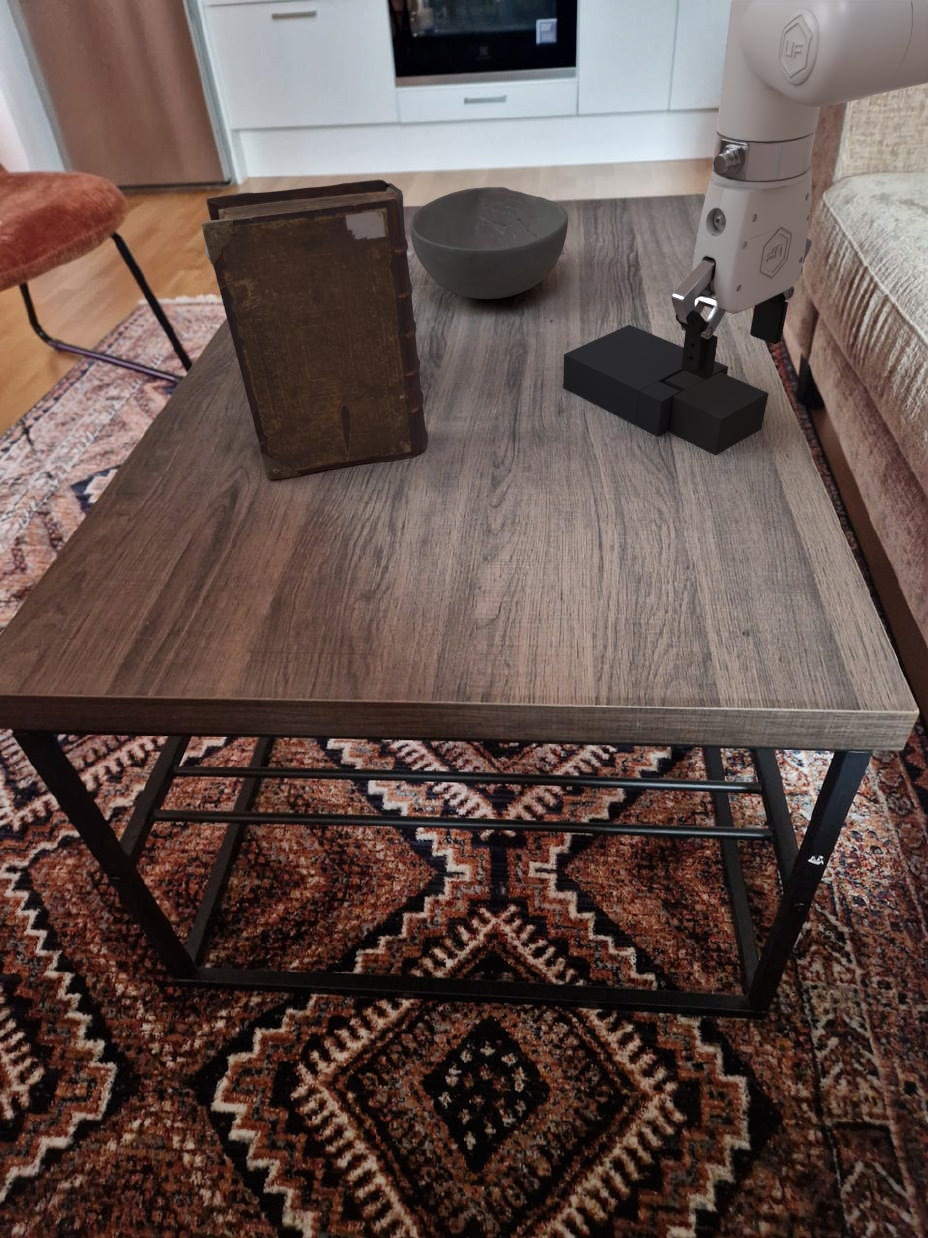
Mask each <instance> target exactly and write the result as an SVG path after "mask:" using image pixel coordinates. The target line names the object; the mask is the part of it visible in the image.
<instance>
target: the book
mask: <svg viewBox="0 0 928 1238" xmlns="http://www.w3.org/2000/svg"><path fill="white" fill-rule="evenodd" d="M206 207H207V211H208V215H209V219H210V220H206V221H203V222H201V228H202V234H203V238H204V242H205V247H206V246H207V250H208V254H209V257H210V260H209V262H210V264H211V265H212V264H213V265H212V267H213V266H214V268H213V270H215V271H214V273H215V278H216V282H217V286H218V290H219V293H220V296H221V301H222V304H223V308H224V313H225V316H226V320H227V323H228V327H229V333H230V336H231V340H232V342H233V347H234V350H235V354H236V358H237V361H238V365H239V366H238V367H239V370H240V374H241V377H242V382H243V385H244V390H245V394H246V398H247V402H248V406H249V409H250V414H251V417H252V422H253V425H254V426H253V427H254V429H255V430H254V431H255V433H256V438H257V440H258V444H259V451H260V455H261V460H262V463H263V467H264V471H265V475H266V478H267V480H270V481H271V480H281V479H288V478H295V477H299V476H302V475H309V474H311V473H316V472H322V471H327V470H328V471H329V470H333V469H338V468H341V467H342V468H343V467H348V466H349V467H350V466H355V465H361V464H366V463H373V462H391V461H398V460H405V459H409V458H414V457H416V455H417V454H419V453H422V452H423V451H424V450H425V448H426V447H427V445H428V443H427V442H428V438H429V436H428V435H429V434H428V431H427V428H426V422H425V415H424V413H425V412H424V403H425V402H424V393H423V391H422V387H421V375H420V368H421V360H420V359H419V355H418V347H417V336H416V332H417V322H416V320H415V315H414V306H413V295H412V294H413V284H412V282H411V276H410V267H409V258H408V249H409V244H408V239H407V238H406V226H405V213H404V212H405V211H404V194H403V191H402V189H399V188H398V187H397V186H395V184H393V183H391V182H386V181H385V180H383V179H370V180H369V179H368V180H361V181H353V182H352V181H351V182H342V183H337V184H332V185H331V184H330V185H323V186H311V187H309V186H308V187H301V188H293V189H292V188H291V189H283V190H276V191H275V190H273V191H263V192H238V193H237V192H236V193H230V194H229V193H228V194H223V195H215V196H211V197H206Z"/></svg>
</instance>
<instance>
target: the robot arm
mask: <svg viewBox="0 0 928 1238" xmlns="http://www.w3.org/2000/svg"><path fill="white" fill-rule="evenodd" d="M724 53H725V54H724V61H723V71H722V79H721V88H720V96H719V104H718V113H717V122H716V132H715V142H714V149H713V159H712V166H711V167H712V168H711V174H710V175H711V176H710V177H711V178H712V179H710V180H709V183H708V186H707V190H706V192H705V193H706V194H705V198H704V201H703V204H702V210H701V213H700V214H701V215H700V218H699V222H698V227H697V228H698V229H697V234H696V240H695V244H694V245H695V246H694V251H693V252H694V253H693V259H692V267H691V273H690V274H689V275H688V276H687V278H686V279H685V280H684V281H683V282H682V283H681V284H680V285H679V286H678V288H677V289H676V290H675V291H674V292H673V293H672V295H671V303H672V306H673V309H674V313H675V321H677V322H678V324H679V325H680V330H682V331H684V340H683V347H684V349H683V358H682V369H683V370H684V371H686V372H689V373H691V374H693V375H696V376H698V377H701V378H703V379H706V380H707V379H709V378H711V377H712V376H713V371H714V363H715V361H716V357H717V349H718V348H717V346H718V340H719V336H717V335H715V334H714V333H715V332H716V329H717V328H718V327H719V325H720V323H721V321H722V319H723V318H724V316H725V314H726V313H728V314H730V315H731V314H732V315H736V314H739V313H742V312H744V311H747V310H749V309H751V308H753V312H752V318H751V325H750V331H749V334H750V336H751V337H753V338H756V339H759V340H762V341H764V342H766V343H769V344H772V345H777V344H779V343H781V342H782V339H783V333H784V328H785V322H786V318H787V312H788V306H789V301H790V300H791V299H792V298H793V297H794V294H795V287H794V286H795V285H796V284H797V282H798V281H799V280H800V277H801V275H802V273H803V269H804V267H803V264H804V263H805V261H806V258H807V257H808V254H809V252H810V250H811V247H812V244H813V243H812V240H811V239H810V238H808V233H809V225H810V216H811V207H812V206H811V205H812V191H813V190H812V189H813V175H812V167H811V166H810V165H811V160H812V154H813V150H814V149H813V148H814V143H815V138H816V132H817V128H818V123H819V118H820V111H821V108H824V107H825V108H826V107H832V106H836V105H840V104H844V103H850V102H853V101H858V100H859V101H860V100H863V99H867V98H869V97H872V96H876V95H880V94H884V93H891V92H894V91H898V90H902V89H907V88H912V87H917V86H920V85H925V84H928V0H731V3H730V11H729V18H728V27H727V35H726V45H725V52H724ZM713 297H716V298H713ZM705 307H706V308H709V309H711V311H710V313H709V315H708V317H707V318H706V319H705V318H704V317H703V316H702V315H701V314H702V312H703V311H704V308H705Z"/></svg>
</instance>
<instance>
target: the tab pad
mask: <svg viewBox="0 0 928 1238" xmlns="http://www.w3.org/2000/svg"><path fill="white" fill-rule="evenodd" d="M665 384H666V385H668V386H670V387H672V388H674V389H676V390H679V391H680V392H681V393H679V394H677V395H675V396H673V403H672V412H671V421H670V429H669V431H668V432H669V433H671V434H673V435H675V436H677V437H678V438H681V439H682V440H684V441H687V442H689V443H691V444H692V445H694V446H696V447H698V448H700V449H703V450H705V451H706V452H708V453H710V454H712V455H714V456H717V455H718V454H720V453H723V452H724V451H725V450H728V449H729V448H731V447H733V446H734V445H736V444H737V443H739V442H741V441H743V440H745V439H746V438H748V437H749V436H752V435H753V434H755V433H757V432H758V431H761V430H762V429H763V424H764V419H765V414H766V410H767V409H766V408H767V404H768V400H769V395H770V393H769V392H767V391H764V390H763V389H760V388H758V387H756V386H753V385H751V384H750V383H747V382H744V381H743V380H740V379H737V378H735V377H733V376H730V375H728V374H727V375H726V374H723V373H721V372H720V373H718V374H716V375H714V376H712V377H711V378H709V379H707V380H706V379H703V378H701V377H698V376H696V375H693V374H691V373H689V372H686V371H682V372H680V373H678V374H676V375H674V376H672V377H670V378H668V379H666V380H665Z"/></svg>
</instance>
